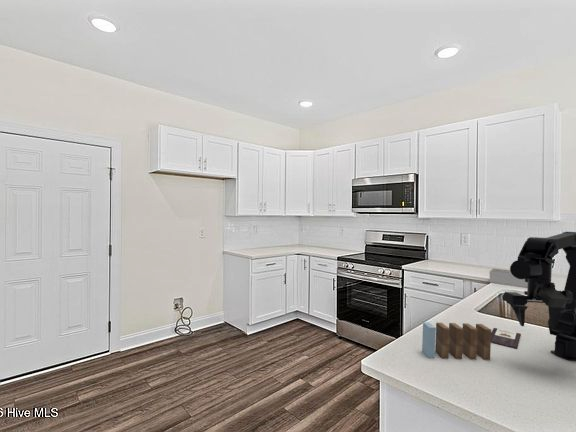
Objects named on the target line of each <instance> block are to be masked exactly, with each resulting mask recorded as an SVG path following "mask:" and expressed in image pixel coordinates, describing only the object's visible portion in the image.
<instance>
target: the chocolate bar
mask: <svg viewBox="0 0 576 432" xmlns="http://www.w3.org/2000/svg"><path fill="white" fill-rule="evenodd" d="M521 335H522V333H520V332H514V331H510V330H507V329H502V328H497V327H493V329H491V344H494V345H497V346H502V347H506V348H509V349H514V350H518V346H519V343H520V340H521Z"/></svg>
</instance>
